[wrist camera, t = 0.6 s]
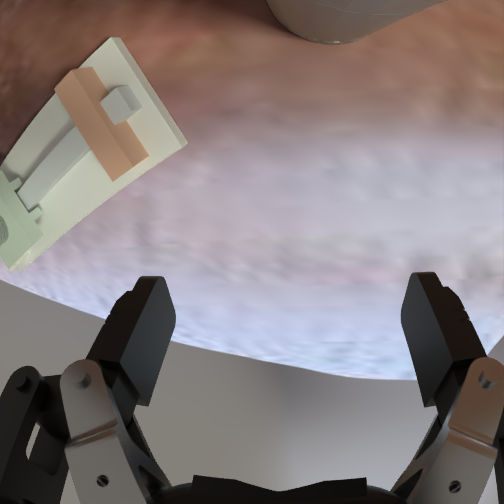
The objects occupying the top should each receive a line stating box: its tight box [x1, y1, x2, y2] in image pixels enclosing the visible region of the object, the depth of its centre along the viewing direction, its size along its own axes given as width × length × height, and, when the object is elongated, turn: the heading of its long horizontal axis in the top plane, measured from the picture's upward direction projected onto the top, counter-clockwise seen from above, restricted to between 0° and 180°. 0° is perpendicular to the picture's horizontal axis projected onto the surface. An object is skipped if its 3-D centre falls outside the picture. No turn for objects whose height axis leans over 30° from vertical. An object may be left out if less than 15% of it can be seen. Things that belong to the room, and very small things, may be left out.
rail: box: [0, 37, 188, 273], centre depth 28 cm, size 32×12×4 cm, turn 120°
